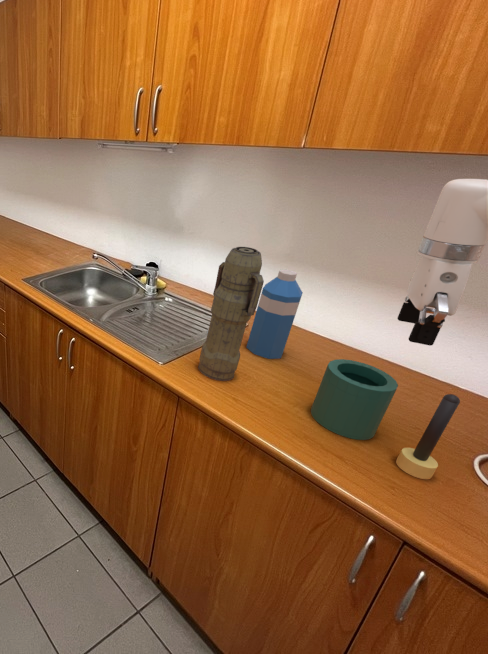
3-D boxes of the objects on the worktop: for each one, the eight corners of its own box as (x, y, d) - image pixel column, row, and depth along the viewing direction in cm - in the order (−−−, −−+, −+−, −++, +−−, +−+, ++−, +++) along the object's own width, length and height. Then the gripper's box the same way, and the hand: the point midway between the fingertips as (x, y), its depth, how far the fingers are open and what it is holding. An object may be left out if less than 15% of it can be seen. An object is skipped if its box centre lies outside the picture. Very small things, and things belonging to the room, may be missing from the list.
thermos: (209, 356, 114) (237, 240, 100) (247, 379, 104) (283, 254, 90) (186, 362, 111) (211, 244, 98) (221, 387, 101) (255, 260, 87)
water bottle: (287, 361, 111) (315, 280, 101) (249, 355, 114) (272, 276, 104) (278, 344, 119) (302, 268, 109) (242, 339, 122) (263, 264, 112)
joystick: (427, 465, 78) (468, 392, 71) (435, 483, 74) (480, 408, 67) (393, 454, 81) (430, 383, 74) (399, 471, 77) (438, 398, 70)
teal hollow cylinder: (369, 415, 91) (391, 369, 86) (379, 447, 83) (404, 398, 77) (308, 398, 97) (325, 353, 92) (312, 426, 88) (331, 379, 83)
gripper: (500, 267, 63) (455, 358, 69) (463, 240, 76) (428, 319, 82) (433, 259, 67) (396, 346, 73) (409, 235, 80) (379, 310, 86)
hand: (413, 331), depth 78 cm, fingers open, 9 cm apart
